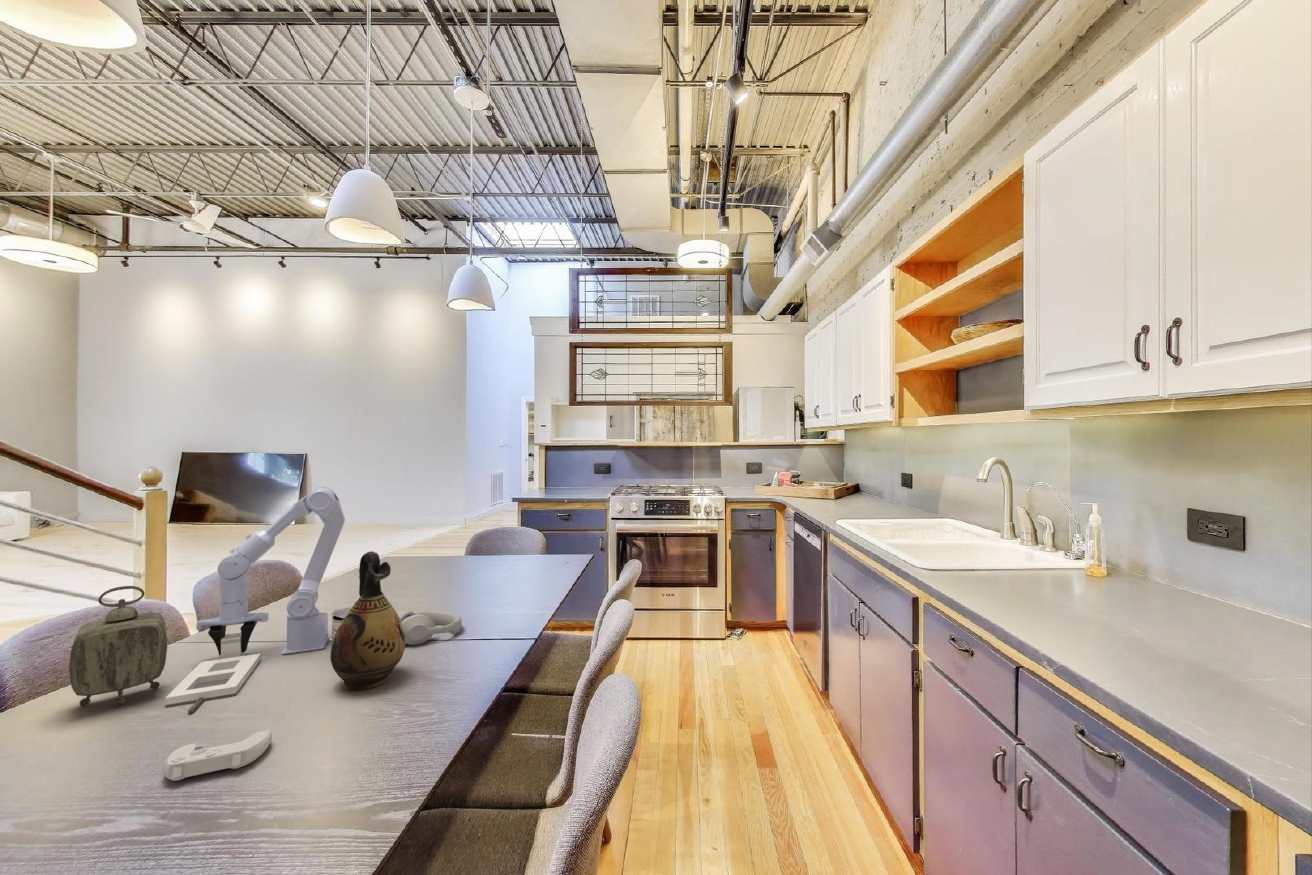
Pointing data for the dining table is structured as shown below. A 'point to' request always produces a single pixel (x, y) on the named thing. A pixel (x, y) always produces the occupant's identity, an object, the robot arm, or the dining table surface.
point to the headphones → (427, 625)
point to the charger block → (231, 646)
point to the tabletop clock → (118, 651)
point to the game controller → (215, 756)
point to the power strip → (213, 681)
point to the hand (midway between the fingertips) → (233, 652)
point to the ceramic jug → (368, 632)
